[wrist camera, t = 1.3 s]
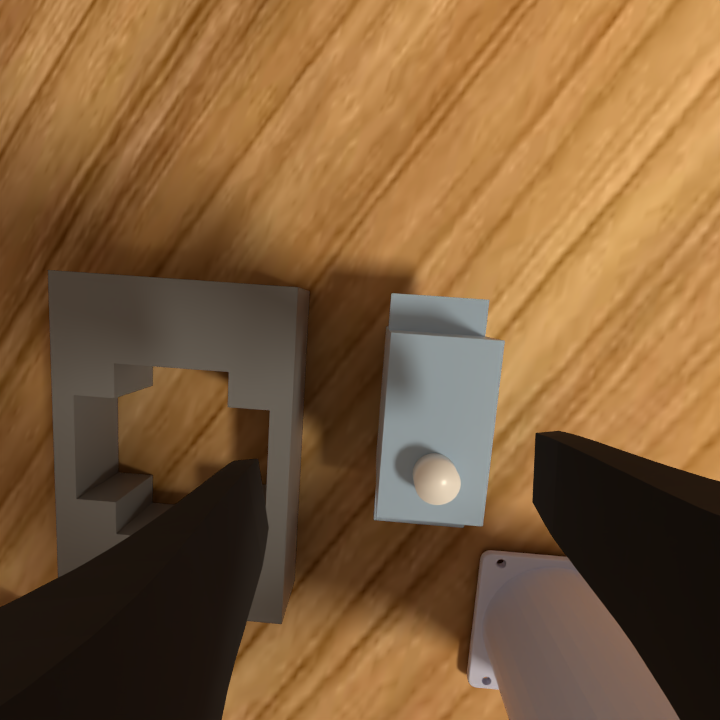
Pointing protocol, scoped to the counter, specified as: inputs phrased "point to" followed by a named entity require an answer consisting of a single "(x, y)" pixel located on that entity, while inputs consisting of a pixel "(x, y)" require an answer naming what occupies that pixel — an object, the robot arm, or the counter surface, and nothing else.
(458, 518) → the block
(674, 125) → the counter surface
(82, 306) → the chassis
